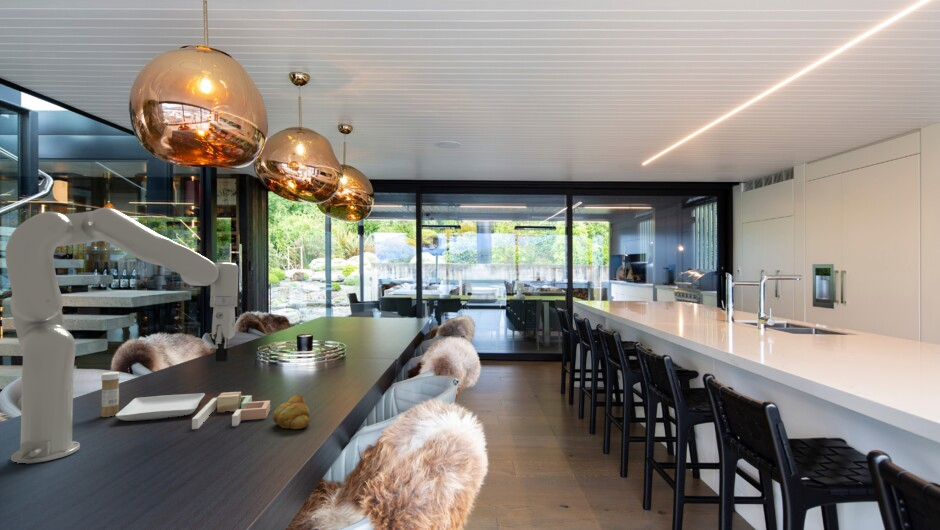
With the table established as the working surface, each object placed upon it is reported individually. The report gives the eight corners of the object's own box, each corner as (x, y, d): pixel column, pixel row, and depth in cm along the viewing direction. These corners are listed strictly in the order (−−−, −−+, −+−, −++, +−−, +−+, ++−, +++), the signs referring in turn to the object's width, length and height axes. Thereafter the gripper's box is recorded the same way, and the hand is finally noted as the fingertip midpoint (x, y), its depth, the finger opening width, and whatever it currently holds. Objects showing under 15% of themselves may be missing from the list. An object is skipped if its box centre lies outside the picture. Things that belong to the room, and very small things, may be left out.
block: (237, 411, 154) (237, 395, 154) (217, 412, 153) (217, 397, 153) (240, 406, 160) (241, 391, 160) (221, 407, 158) (221, 392, 158)
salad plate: (195, 418, 147) (195, 407, 147) (113, 426, 139) (113, 414, 140) (205, 401, 167) (205, 391, 167) (134, 407, 159) (134, 397, 159)
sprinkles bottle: (118, 412, 152) (119, 370, 153) (119, 415, 149) (120, 373, 149) (100, 415, 149) (101, 372, 150) (100, 418, 146) (101, 374, 146)
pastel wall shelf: (263, 423, 141) (263, 413, 141) (191, 429, 135) (192, 418, 136) (273, 402, 164) (273, 393, 164) (213, 406, 159) (213, 397, 159)
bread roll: (315, 428, 137) (316, 400, 137) (280, 435, 131) (281, 406, 131) (302, 417, 147) (302, 392, 147) (269, 423, 141) (269, 396, 141)
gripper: (232, 303, 141) (229, 364, 140) (241, 301, 155) (239, 357, 155) (204, 303, 139) (201, 365, 138) (216, 301, 153) (214, 357, 153)
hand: (221, 360), depth 146 cm, fingers closed
